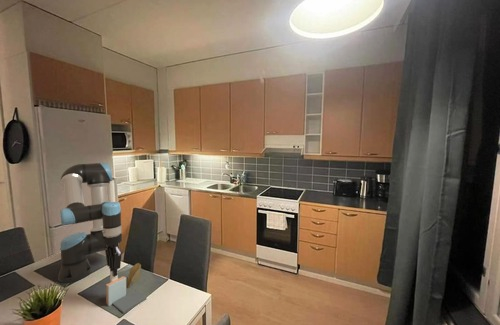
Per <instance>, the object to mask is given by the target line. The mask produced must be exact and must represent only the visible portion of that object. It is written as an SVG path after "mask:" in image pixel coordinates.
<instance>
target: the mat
mask: <svg viewBox="0 0 500 325" xmlns="http://www.w3.org/2000/svg"><path fill="white" fill-rule="evenodd" d="M146 300H147V297H146V296H144V295H143V294H142V293H140V292H139V291H137V290H132V291H131V292H130V293H128V294H126V296H124V297H122V298H120V299H119V300H117V301H115V302H113V304H112V305H113V306H114V307H115V308H116V309H117V310H119V311H120V312H121V313H122V314H125V313H127V312H128V311H130V310H132V309H133V308H135V307H137V306H138V305H140V304H141V303H143V302H145V301H146Z"/></svg>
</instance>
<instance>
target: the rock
mask: <svg viewBox="0 0 500 325" xmlns="http://www.w3.org/2000/svg"><path fill="white" fill-rule="evenodd" d="M141 270H142V264H141V263H140V262H137V263H135V264H134V265H133V266H132V267H131V268H130V269H129V273H128V277H126V289H127V288H128V289H129V288H130V287H131V286H132V285H133V284H134V283H136V282H137V281H138V280H139V279H140V278H141Z"/></svg>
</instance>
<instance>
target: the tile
mask: <svg viewBox="0 0 500 325" xmlns="http://www.w3.org/2000/svg"><path fill="white" fill-rule="evenodd" d="M126 280H127V277H126V276H124V275H123V276H121V277H118V279H117V280H114V281H112V282H111V281H109V283H106V286H105V288H106V289H105V294H106V295H105V296H106V297H105V298H106V301H105V303H106V305H107V307H110V306H112V305H113V302H115V301H117V300H119V299H120V298H122V297H124V296H126V295H127V288H126Z"/></svg>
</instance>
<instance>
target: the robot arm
mask: <svg viewBox="0 0 500 325" xmlns="http://www.w3.org/2000/svg"><path fill="white" fill-rule="evenodd" d="M111 169H112V168H111V165H109V163H104V162H102V163H101V162H97V163H78V164H74V165H71V166H70V167H68V168H66V169H65V170H64V171H63V173H62V174H61V176H60V184H61V185H62V186H63V195H64V206H65V208H63V209H61V210H60V224H61V225H62V226H70V225H76V224H80V223H87V222H92V228H91V229H90V231H89V232H90V233H88V234H87V233H86V232H84V231H82V232H76V233H73V234H70V235H68V236H66V237H64V238H63V239H62V240H61V241H60V247H59V250H60V259H61V260H60V263H61V266H60V269H59V272H58V275H57V281H58V282H59V283H62V284H66V283H73V282H77V281H79V280H82V279H84V278H86V277H88V276H89V275H91V273H92V270H93V269H92V265H91V263H90V261H89V260H88V255H92V254H96V253H100V252H103V251H104V252H105V258H106V266H107V267H108V269H109V276H110V277H109V278H110V281H109V282H112V281H114V280H117V279H119V275H118V274H119V273H118V271H119V269H121V262H122V255H123V250H120V243H121V242H122V241H123V240H122V239H123V238H122V237H123V236H122V230H123V229H122V211H121V210H122V208H121V207H122V206H121V203H120V202H118V201H109V196H108V186H109V185H110V184H111V183H110V182H111V181H113V172H112V170H111ZM82 184H87V185H86V186H87V187H88V188H90V199H91V200H90V201H91V205H86V204H85V199H84V198H85V197H84V192H83V186H82Z"/></svg>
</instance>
